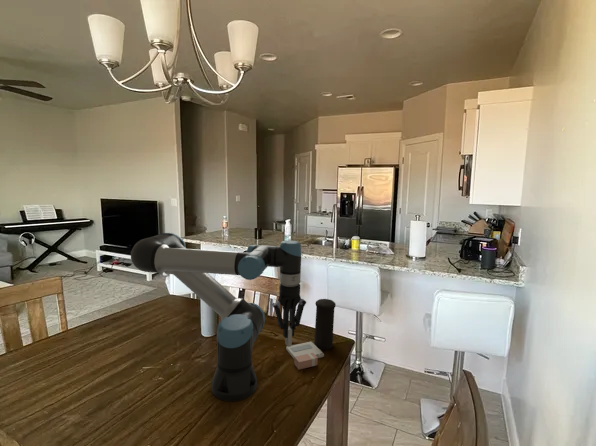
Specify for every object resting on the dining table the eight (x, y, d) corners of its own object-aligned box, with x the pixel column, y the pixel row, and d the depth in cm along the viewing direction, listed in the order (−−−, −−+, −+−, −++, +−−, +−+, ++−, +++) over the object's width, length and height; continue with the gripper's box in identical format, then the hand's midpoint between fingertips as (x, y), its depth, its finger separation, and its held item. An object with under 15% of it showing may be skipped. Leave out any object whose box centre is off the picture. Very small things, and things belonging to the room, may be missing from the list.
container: (333, 340, 143) (335, 297, 141) (333, 351, 135) (336, 305, 132) (314, 339, 144) (315, 296, 142) (312, 349, 135) (315, 304, 133)
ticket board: (297, 363, 125) (297, 359, 125) (286, 349, 135) (286, 346, 135) (323, 356, 130) (324, 353, 130) (311, 344, 140) (311, 341, 140)
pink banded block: (298, 369, 120) (298, 362, 120) (294, 364, 124) (294, 356, 123) (317, 365, 124) (317, 357, 123) (312, 359, 127) (312, 352, 127)
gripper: (277, 288, 110) (275, 353, 113) (310, 284, 115) (308, 346, 118) (269, 282, 116) (268, 343, 120) (301, 278, 122) (299, 337, 125)
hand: (288, 344), depth 119 cm, fingers closed
